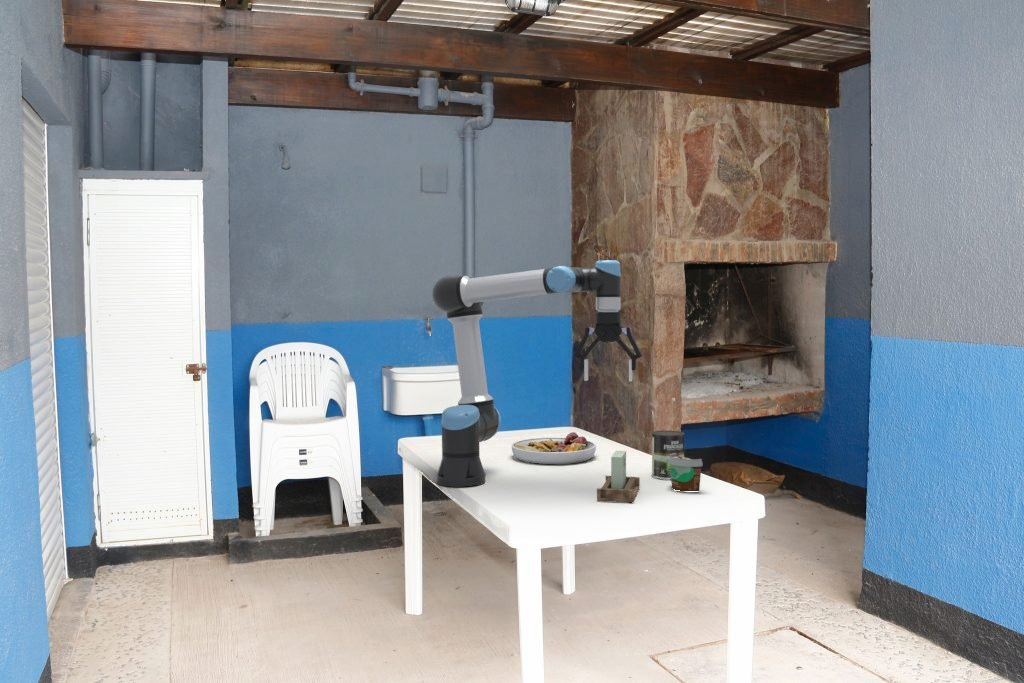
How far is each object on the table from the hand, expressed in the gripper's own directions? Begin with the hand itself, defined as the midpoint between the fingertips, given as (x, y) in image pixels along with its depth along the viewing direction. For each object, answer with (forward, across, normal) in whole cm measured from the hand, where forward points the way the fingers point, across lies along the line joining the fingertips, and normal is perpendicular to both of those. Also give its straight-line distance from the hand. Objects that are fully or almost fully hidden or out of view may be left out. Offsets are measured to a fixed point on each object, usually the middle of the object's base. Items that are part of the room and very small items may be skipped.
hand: (608, 380), depth 260 cm
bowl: (+32, +25, -37) cm, 55 cm away
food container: (+32, -22, +4) cm, 39 cm away
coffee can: (+32, -17, -14) cm, 39 cm away
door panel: (+31, -5, +14) cm, 34 cm away
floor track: (+32, -5, +14) cm, 35 cm away
